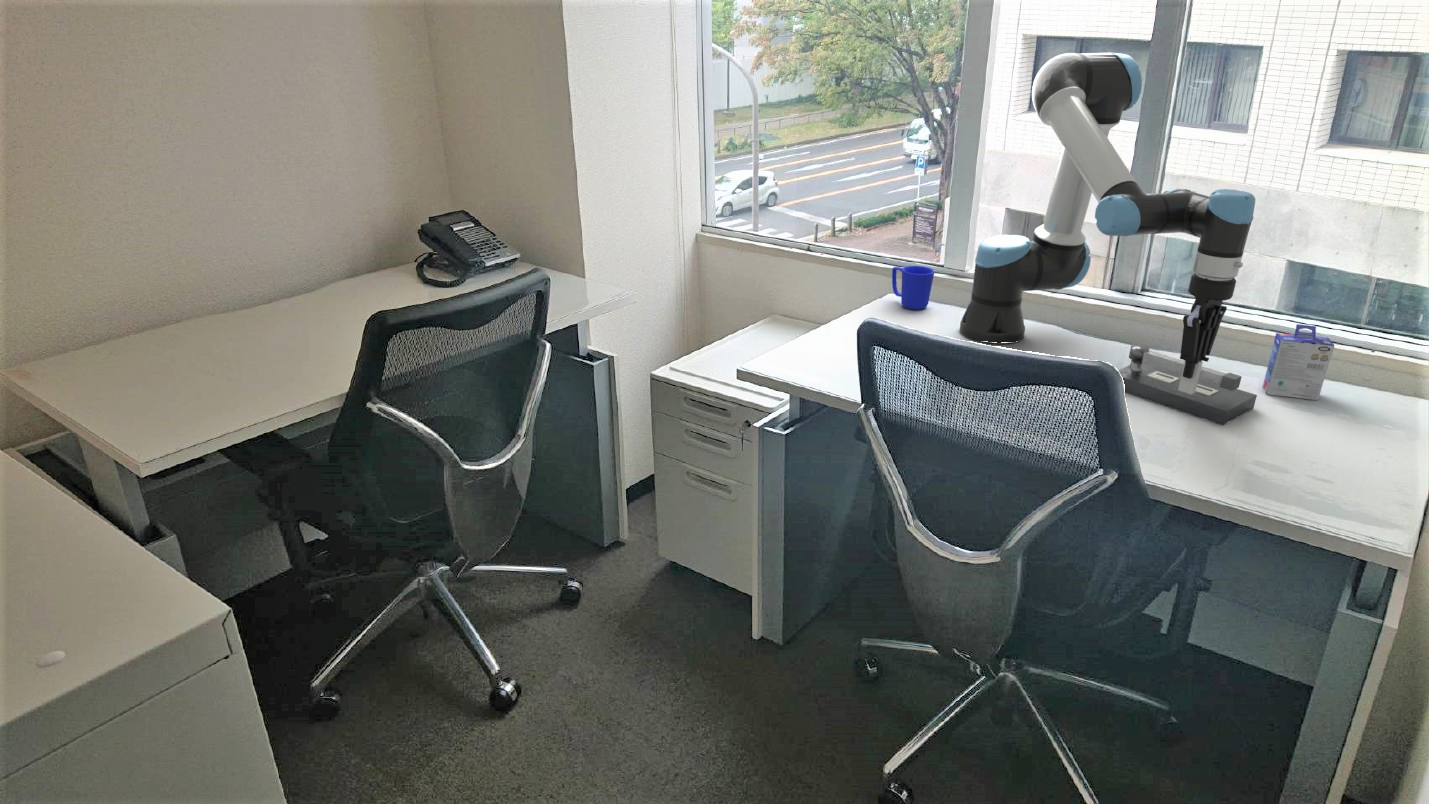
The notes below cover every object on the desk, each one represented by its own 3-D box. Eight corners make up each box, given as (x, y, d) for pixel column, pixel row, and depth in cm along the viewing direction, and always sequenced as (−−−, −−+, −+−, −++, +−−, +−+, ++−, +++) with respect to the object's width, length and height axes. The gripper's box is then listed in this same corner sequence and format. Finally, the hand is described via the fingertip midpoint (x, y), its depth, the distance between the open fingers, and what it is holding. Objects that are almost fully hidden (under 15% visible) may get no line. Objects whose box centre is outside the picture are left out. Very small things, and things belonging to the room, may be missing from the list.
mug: (900, 296, 250) (904, 260, 246) (936, 307, 242) (940, 270, 238) (880, 302, 245) (883, 266, 241) (916, 313, 237) (920, 276, 233)
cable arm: (1125, 358, 195) (1127, 346, 194) (1134, 354, 197) (1136, 343, 196) (1231, 391, 179) (1234, 379, 178) (1239, 387, 181) (1243, 374, 180)
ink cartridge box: (1312, 391, 194) (1332, 326, 188) (1319, 401, 189) (1340, 335, 183) (1260, 385, 196) (1278, 320, 190) (1265, 395, 192) (1284, 329, 186)
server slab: (1107, 386, 195) (1112, 364, 193) (1139, 372, 202) (1144, 351, 200) (1222, 425, 178) (1229, 401, 175) (1253, 408, 185) (1259, 385, 183)
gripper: (1218, 286, 165) (1189, 406, 175) (1250, 274, 173) (1220, 389, 183) (1177, 276, 171) (1151, 393, 180) (1210, 265, 178) (1183, 377, 188)
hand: (1186, 391), depth 181 cm, fingers closed
